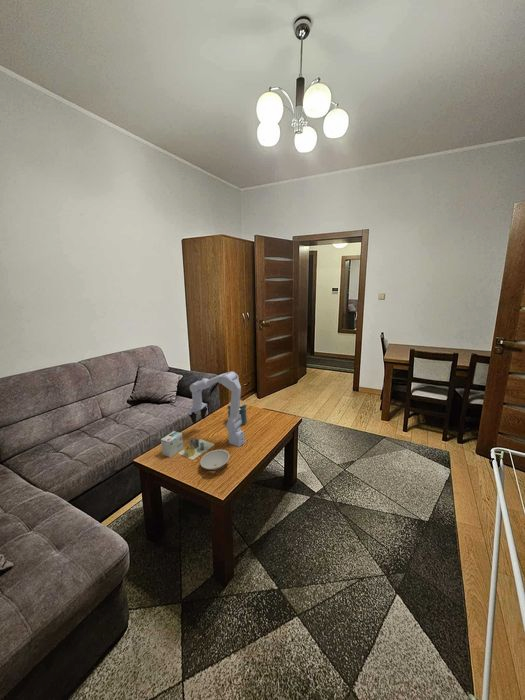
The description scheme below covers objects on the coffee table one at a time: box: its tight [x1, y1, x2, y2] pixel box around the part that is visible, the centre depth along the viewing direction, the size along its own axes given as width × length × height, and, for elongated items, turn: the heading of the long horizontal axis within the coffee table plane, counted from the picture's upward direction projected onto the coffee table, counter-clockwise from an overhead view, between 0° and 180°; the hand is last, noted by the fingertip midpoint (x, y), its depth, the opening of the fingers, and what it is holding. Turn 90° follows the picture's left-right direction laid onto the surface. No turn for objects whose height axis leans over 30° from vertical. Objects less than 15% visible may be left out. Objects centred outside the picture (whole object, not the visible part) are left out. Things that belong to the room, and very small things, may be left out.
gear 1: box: [188, 438, 200, 449], centre depth 172 cm, size 6×6×4 cm
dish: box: [199, 449, 230, 471], centre depth 154 cm, size 18×14×5 cm
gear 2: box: [183, 444, 195, 458], centre depth 164 cm, size 6×6×4 cm
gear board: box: [177, 438, 215, 460], centre depth 169 cm, size 13×18×5 cm
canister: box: [227, 399, 248, 427], centre depth 201 cm, size 13×13×18 cm
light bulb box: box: [160, 430, 184, 458], centre depth 167 cm, size 11×7×11 cm, turn 152°
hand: (198, 420), depth 185 cm, fingers open, 7 cm apart
